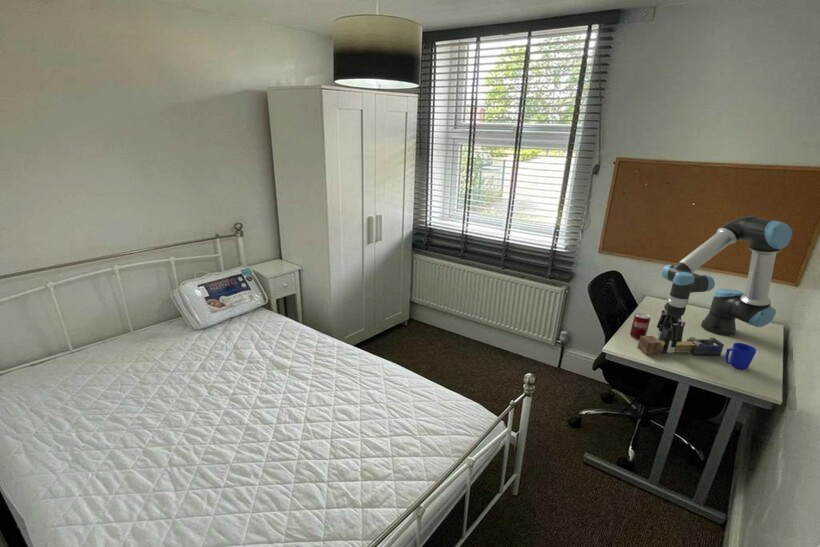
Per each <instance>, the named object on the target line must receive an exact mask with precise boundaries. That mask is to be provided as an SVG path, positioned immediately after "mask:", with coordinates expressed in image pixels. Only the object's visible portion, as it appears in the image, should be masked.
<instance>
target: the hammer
mask: <svg viewBox="0 0 820 547" xmlns="http://www.w3.org/2000/svg"><path fill="white" fill-rule="evenodd" d="M670 340H672V326H671V327H663V330H662V334H661V337H660V342H661V343H662V346H661V349H660V352H667V350H668V346H669V342H670ZM695 345H697V344H695V343H694V342H693V341H687V340H682V341H681V342H677V344H676V347H675V349H674V352H677V353H678V352H679V353H681V352H682V353H683V352H684V353H685V352H686V353H689V352H693V350H694V347H695Z"/></svg>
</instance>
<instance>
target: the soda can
mask: <svg viewBox="0 0 820 547" xmlns="http://www.w3.org/2000/svg"><path fill="white" fill-rule="evenodd" d="M650 323H651V316H650V315H648V314H647V313H643V312H637V313H634V316H633V318H632V325H631V328H630V331H629V335H630V336H631V337H632V338H633V339H637V340H639V339H640V336H647V334H648V330H649V327H650Z"/></svg>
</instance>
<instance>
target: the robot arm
mask: <svg viewBox="0 0 820 547" xmlns="http://www.w3.org/2000/svg"><path fill="white" fill-rule="evenodd" d="M792 233H793V232H792V228H791V227H790V225H788V224H787V223H785V222H781V221H780V220H779V221H778V220H774V219H768V218H762V217H757V216H752V215H749V216H742V217H738V218H735V219H733V220H730V221H728V222H727V223H724V224H723V225H722V226H720V227H719V228H717V230H716V233H715V234H714V235H712V236H711V237H710V238H708V239H707V240H706V241H705V242H704V243H702V244H701V245H699V246H698V247H696V248H695V249H694V250H692V252H690V253H689V254H687V255H686V256H685V257H684V258H682V259H681V260H680V261H678V262H677V263H676V264H675V265H674V264H666V265H664V267H663V268H662V270H661V277H662V278H663V279H665V280H667V281H668V282H672V285H671V288H670V293H669V296H668V299H667V302H666V303H667V306H666V310H665V309H663V310H661V315H660V318H659V319H658V322H657V324H656V328H657V329H658V334H657V339H658V340H659V341H660V337H661V334H662V330H663V327H668V326H669V324H670V323H671V327H672V340H670V342H669V346H668V350H667V351H666V353H667V354H668V353H669V354H673V353H674V349H675V347H676V344H677V342H681V341H683V340H682V339H683V335H684V330H685V329H684V328H685V325H686V322H685V321H683V320H682V316H684V314H685V312H686V308H687V306H688V302H689V299H690V295H691V293H705V292H710V291H712V290H713V289H714V288H715V284H716V281H715V279H714V278H713V277H712V276H710V275H709V274H708V275H707V274H706V275H705V274H703V275H702V274H701V275H700V274H697V273H695V271H697V269H698V268H700V267H701V266H703V265H704V264H705V263H707V262H708V261H709V260H711V259H712V258H713V257H715V256H716V255H717V254H719V253H720V252H722V250H724V249H725V248H727V247H728V246H729V245H731V244H732V245H734V244H735V243H737V242H738V241H744V242H749V244H748V249H749V250H750V251H751V257H750V261H749V262H750V263H749V269H748V276H747V279H746V280H747V281H746V287H745V292H743V291H741V290H739V289H738V290H737V289H732V288H718V289H717V290H715V291H714V295H713V298H712V301H711V305H710V307H709V311H708V313H707V315H706V316H705V318H704V319H703V320H702V321H701V323H700V327H701V328H702V329H704V330H706V331H707V332H710V333H712V334H715V335H719V336H726V337H729V336H730V335H732V336H734V335H735V334H736V332H737V327H736V320H739V321H741V322H744V323H746V324H748V325H750V326H753V327H756V328H762V327H765V326H767V325H769V324H770V322H771V321H773V320H774V318H775V316H776V313H777V310H776V309H775V308H774V307H773V306H771V305H772V300H771V298H769V293H770V289H771V288H770V287H771V282H772V277H773V272H774V266H775V262H776V256H777V254H778V253H779V252H781V251H782V249H784V248H786V247H787V246H788V245H789V242H791V240H792V236H793V234H792Z"/></svg>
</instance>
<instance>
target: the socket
mask: <svg viewBox="0 0 820 547" xmlns="http://www.w3.org/2000/svg"><path fill="white" fill-rule="evenodd" d="M661 346H662V343H661V342H660V341H659V340H658V337H655V335H646V336H640V339H638V344H637V349H638V350H639V351H640V352H642V353H643V355H645V356H659V355H660V352H661V351H660V349H661Z"/></svg>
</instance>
